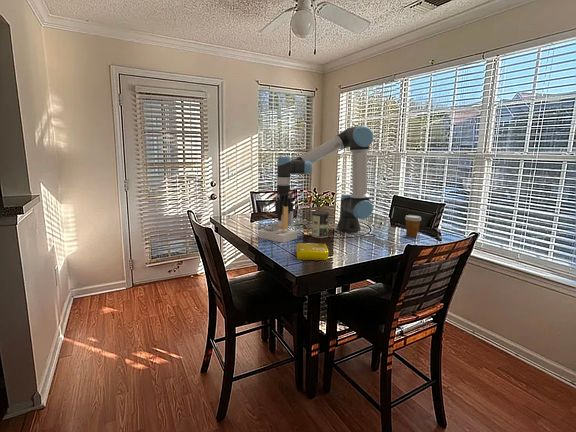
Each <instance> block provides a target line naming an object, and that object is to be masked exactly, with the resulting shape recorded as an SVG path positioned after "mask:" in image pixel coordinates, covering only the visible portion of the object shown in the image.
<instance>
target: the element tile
mask: <svg viewBox="0 0 576 432" xmlns="http://www.w3.org/2000/svg"><path fill="white" fill-rule="evenodd" d="M296 259H297V260H303V261H304V260H305V261H306V260H308V261H309V260H310V261H327V260H329V249H328V247H327V244H326V243H318V242H317V243H313V242H312V243H311V242H309V243H307V242H302V243H301V242H297V243H296Z"/></svg>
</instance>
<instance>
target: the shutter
mask: <svg viewBox="0 0 576 432" xmlns="http://www.w3.org/2000/svg"><path fill="white" fill-rule="evenodd" d="M263 229H264V230H269V231H275V230H279V229H278V222H274V223H271V225H269V226H265V227H263Z"/></svg>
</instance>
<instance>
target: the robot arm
mask: <svg viewBox="0 0 576 432" xmlns="http://www.w3.org/2000/svg"><path fill="white" fill-rule="evenodd" d="M373 141H374V132H373V130H372V129H371V128H370V127H368V126H366V125H356V126H350V127H348V128H345V130H342V131H341V132H339V133H338V134H336V135H335V136H334V138H331V139H330V140H328V141H327V142H324V143H323V144H320V145H318V146H317V147H314V148H312V149H311V150H309V151H307V152H306V153H303V154H301V155H299V156H297V157H296V158H294V159H292V157H290V156H279V157H278V158H277V164H276V167H277V168H276V169H277V173H276V184H277V185H276V191H277V192H278V193H277V196H274V207H275V208H274V209H275V211H274V213H275V214H276V216H277V223H278V226H283V215H282V210H283V204H284V206H288V214H290V212H291V203H292V199H293V198H292V197H293V195H292V194H290V192H291V175H310V174H311V173H312V172H313V171H312V170H313V164H314V163H317V162H318V161H320V160H323V159H324V158H326V157H328V156H329V155H331V154H334V153H335V152H337V151H339V150H341V151H342V150H343V151H344V150H345V149H346V148H349V152H350V153H351V155H352V156H351V157H352V159H351V160H352V161H351V162H352V163H351V164H352V165H351V166H352V169H351V170H352V173H351V174H352V176H351V177H352V193H351V194H342V195H341V197H340V211H339V213H340V214H339V220H338V223H337V224H336V230H337V231H340V232H346V233H357V232H360V231H361V223H360V220H365V219H367V218H369V217H370V216H371V215H372V213H373V210H374V206H373V204H372V202H371V201H370V199H371V198H370V195H369V194H368V152H369V151H370V150H371V144H372V143H373ZM359 219H360V220H359Z"/></svg>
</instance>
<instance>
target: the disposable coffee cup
mask: <svg viewBox="0 0 576 432" xmlns="http://www.w3.org/2000/svg"><path fill="white" fill-rule="evenodd" d="M404 219H405V233H406V236H407V237H411V238H412V237H413V238H416V237H418V233H419V229H420V226H421V221H422V217H421V216H420V215H414V214H408V215H407V214H406V215H405V217H404Z"/></svg>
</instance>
